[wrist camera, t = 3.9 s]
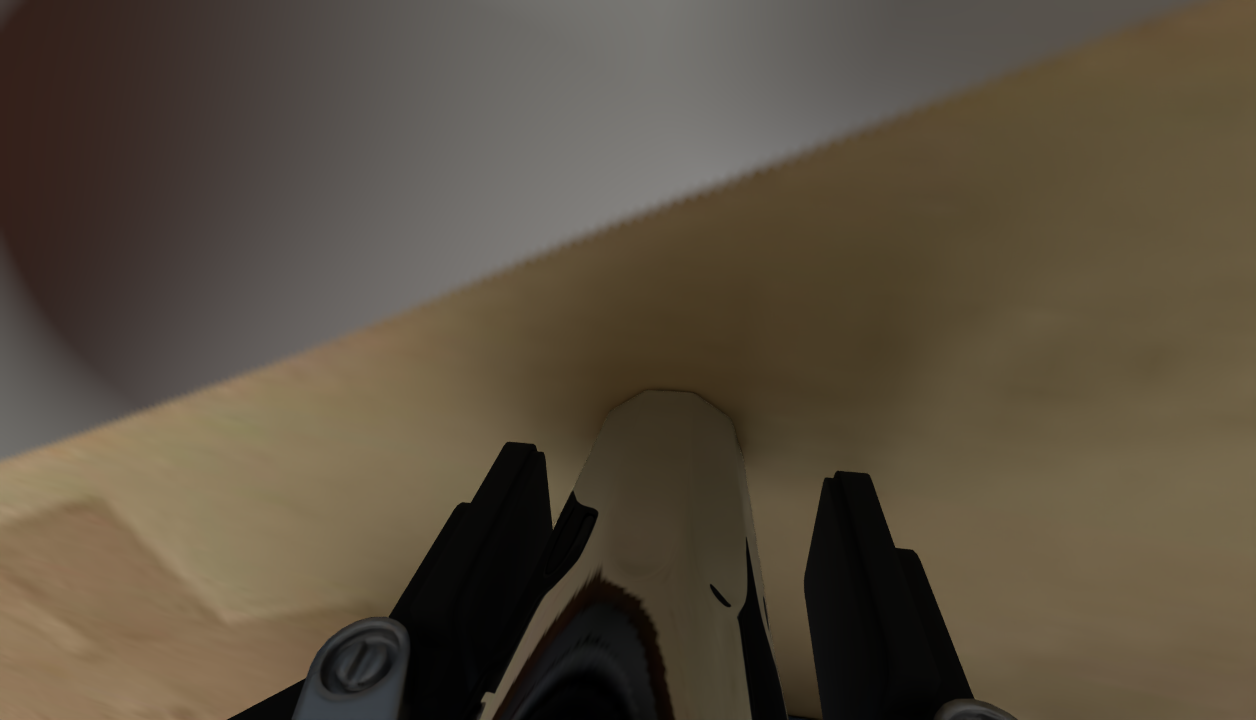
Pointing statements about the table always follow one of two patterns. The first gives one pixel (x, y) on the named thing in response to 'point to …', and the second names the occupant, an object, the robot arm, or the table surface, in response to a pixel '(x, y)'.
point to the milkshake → (644, 585)
